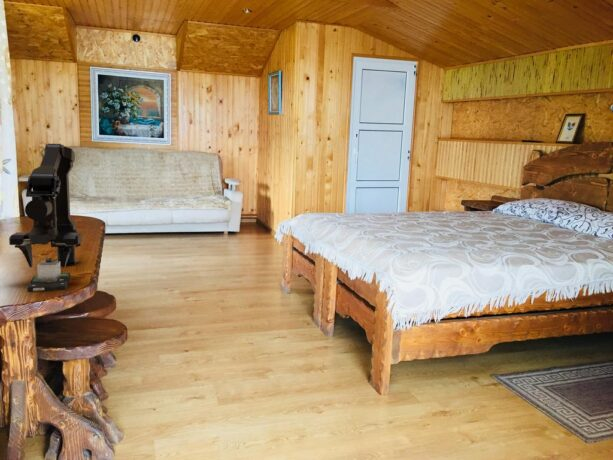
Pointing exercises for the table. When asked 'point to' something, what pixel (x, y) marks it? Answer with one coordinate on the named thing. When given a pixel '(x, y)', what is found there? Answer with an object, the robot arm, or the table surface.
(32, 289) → the disk drive
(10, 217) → the table surface
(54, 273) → the housing
